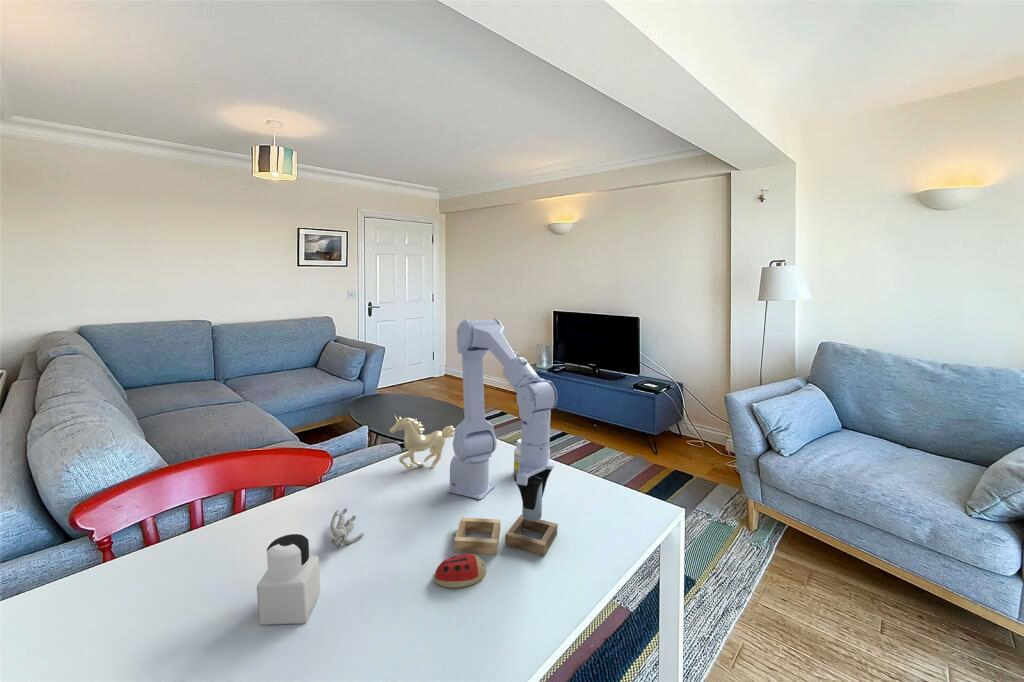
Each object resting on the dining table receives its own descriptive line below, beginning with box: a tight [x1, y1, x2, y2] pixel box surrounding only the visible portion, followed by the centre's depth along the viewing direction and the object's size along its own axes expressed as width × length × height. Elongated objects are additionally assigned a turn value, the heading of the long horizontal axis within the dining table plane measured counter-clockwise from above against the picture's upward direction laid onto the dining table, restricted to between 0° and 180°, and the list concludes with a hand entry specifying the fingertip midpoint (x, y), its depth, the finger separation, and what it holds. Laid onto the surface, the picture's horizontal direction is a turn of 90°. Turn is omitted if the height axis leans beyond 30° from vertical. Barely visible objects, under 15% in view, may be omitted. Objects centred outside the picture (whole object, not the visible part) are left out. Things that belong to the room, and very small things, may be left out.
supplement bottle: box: [513, 438, 521, 476], centre depth 125 cm, size 5×5×10 cm
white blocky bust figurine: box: [256, 533, 321, 626], centre depth 74 cm, size 7×7×12 cm
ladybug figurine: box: [432, 553, 487, 589], centre depth 83 cm, size 7×10×4 cm
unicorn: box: [389, 413, 456, 469], centre depth 128 cm, size 20×4×17 cm, turn 121°
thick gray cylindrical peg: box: [521, 475, 543, 521], centre depth 94 cm, size 4×4×8 cm
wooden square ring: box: [504, 514, 558, 558], centre depth 95 cm, size 8×8×2 cm
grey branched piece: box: [329, 507, 365, 549], centre depth 94 cm, size 8×5×12 cm
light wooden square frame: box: [453, 517, 501, 555], centre depth 95 cm, size 8×8×2 cm
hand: (533, 503), depth 94 cm, fingers closed on thick gray cylindrical peg, 4 cm apart
